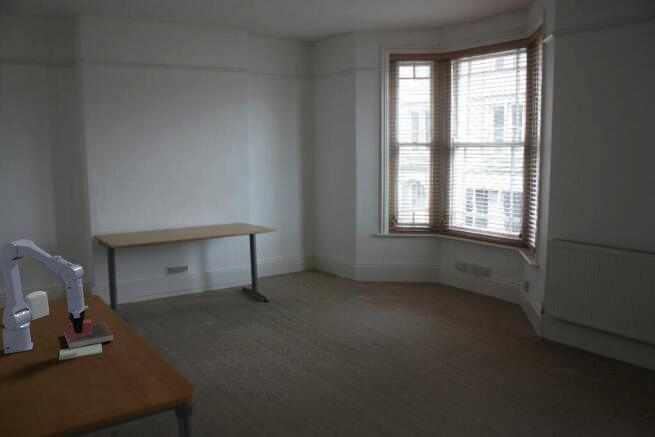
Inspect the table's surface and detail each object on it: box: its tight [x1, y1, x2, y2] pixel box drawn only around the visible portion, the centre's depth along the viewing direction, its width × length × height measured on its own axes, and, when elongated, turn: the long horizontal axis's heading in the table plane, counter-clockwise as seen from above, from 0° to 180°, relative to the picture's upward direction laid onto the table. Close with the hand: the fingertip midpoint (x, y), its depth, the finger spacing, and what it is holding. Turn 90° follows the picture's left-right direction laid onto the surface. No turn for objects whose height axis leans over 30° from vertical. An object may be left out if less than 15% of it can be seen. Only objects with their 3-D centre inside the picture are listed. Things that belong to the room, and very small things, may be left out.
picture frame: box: [63, 322, 114, 349], centre depth 236 cm, size 16×2×22 cm
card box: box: [65, 318, 93, 339], centre depth 220 cm, size 9×4×5 cm, turn 113°
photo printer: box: [23, 290, 50, 322], centre depth 267 cm, size 10×4×12 cm, turn 152°
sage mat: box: [58, 343, 103, 361], centre depth 221 cm, size 15×10×1 cm, turn 113°
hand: (78, 331), depth 220 cm, fingers closed on card box, 4 cm apart
